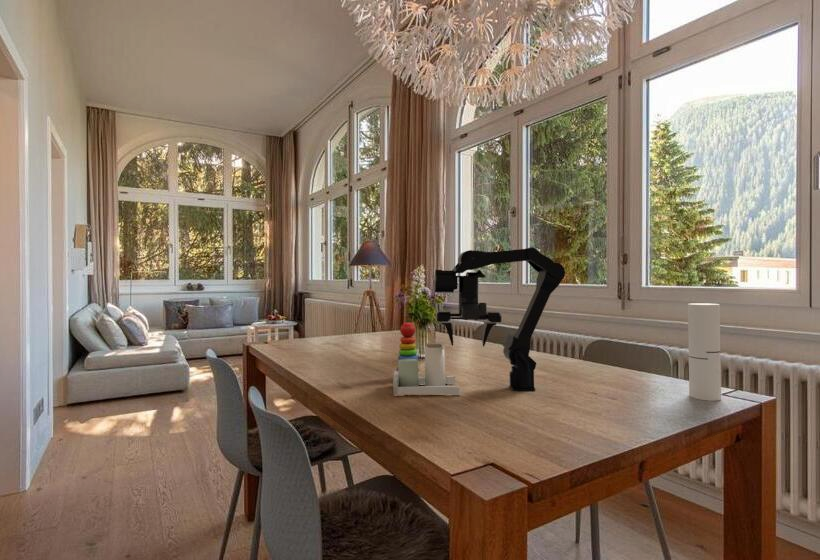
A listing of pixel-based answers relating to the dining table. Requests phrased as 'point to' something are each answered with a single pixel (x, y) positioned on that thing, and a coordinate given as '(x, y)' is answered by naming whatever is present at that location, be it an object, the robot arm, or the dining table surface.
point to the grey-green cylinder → (408, 372)
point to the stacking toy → (407, 343)
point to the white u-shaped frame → (425, 387)
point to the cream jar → (434, 364)
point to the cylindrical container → (704, 351)
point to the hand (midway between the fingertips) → (467, 345)
